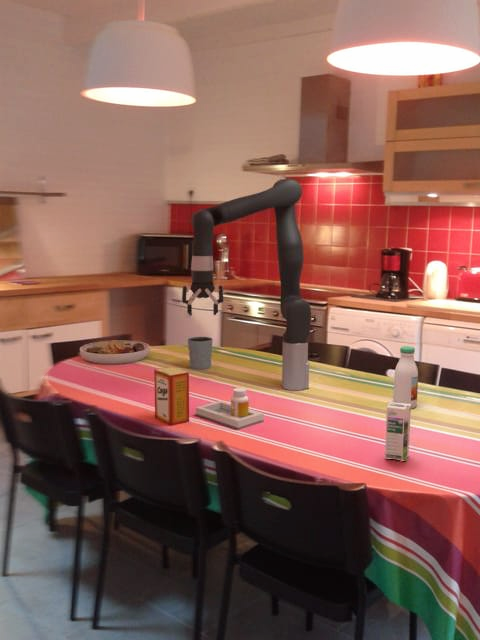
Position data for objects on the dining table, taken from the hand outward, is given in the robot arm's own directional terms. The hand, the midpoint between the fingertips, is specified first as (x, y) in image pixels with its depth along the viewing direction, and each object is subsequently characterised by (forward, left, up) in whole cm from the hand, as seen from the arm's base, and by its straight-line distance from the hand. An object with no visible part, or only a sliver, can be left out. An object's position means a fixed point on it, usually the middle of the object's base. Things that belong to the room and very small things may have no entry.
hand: (202, 315), depth 235 cm
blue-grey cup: (-3, -38, -28) cm, 47 cm away
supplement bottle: (-7, +34, -28) cm, 45 cm away
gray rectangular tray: (-5, +30, -28) cm, 42 cm away
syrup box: (-44, +70, -28) cm, 87 cm away
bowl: (+32, -62, -29) cm, 75 cm away
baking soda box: (+13, +29, -28) cm, 43 cm away
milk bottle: (-65, +26, -28) cm, 76 cm away
